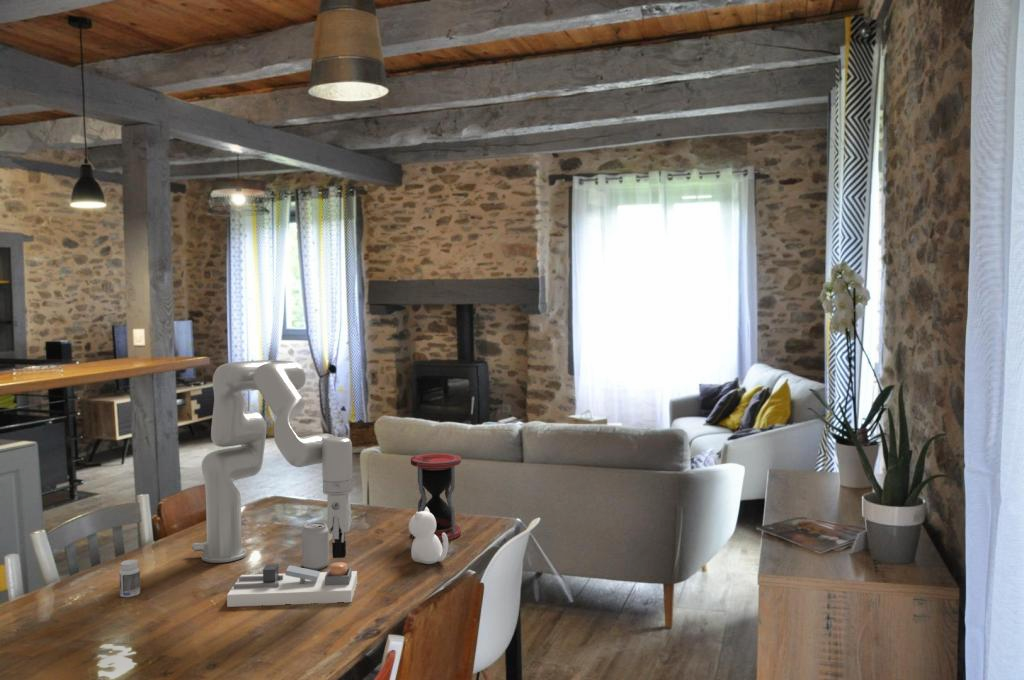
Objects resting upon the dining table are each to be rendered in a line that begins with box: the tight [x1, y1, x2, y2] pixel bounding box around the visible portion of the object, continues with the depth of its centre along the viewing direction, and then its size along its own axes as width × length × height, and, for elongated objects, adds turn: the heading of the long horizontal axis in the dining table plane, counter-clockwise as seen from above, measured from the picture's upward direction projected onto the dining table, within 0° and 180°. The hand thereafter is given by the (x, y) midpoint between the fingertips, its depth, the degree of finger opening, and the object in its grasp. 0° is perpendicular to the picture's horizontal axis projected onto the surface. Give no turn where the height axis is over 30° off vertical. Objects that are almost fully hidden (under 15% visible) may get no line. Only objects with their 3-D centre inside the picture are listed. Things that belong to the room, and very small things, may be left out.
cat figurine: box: [408, 507, 449, 565], centre depth 222 cm, size 9×12×15 cm
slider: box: [262, 563, 280, 583], centre depth 196 cm, size 3×4×4 cm
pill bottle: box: [118, 559, 141, 598], centre depth 197 cm, size 5×5×8 cm
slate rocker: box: [284, 565, 321, 581], centre depth 197 cm, size 8×4×1 cm, turn 96°
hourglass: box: [410, 452, 462, 542], centre depth 248 cm, size 16×16×25 cm
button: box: [329, 561, 348, 576], centre depth 198 cm, size 4×4×2 cm
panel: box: [226, 567, 358, 608], centre depth 197 cm, size 30×14×5 cm, turn 96°
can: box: [301, 521, 330, 571], centre depth 218 cm, size 8×8×12 cm
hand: (339, 556), depth 197 cm, fingers closed
